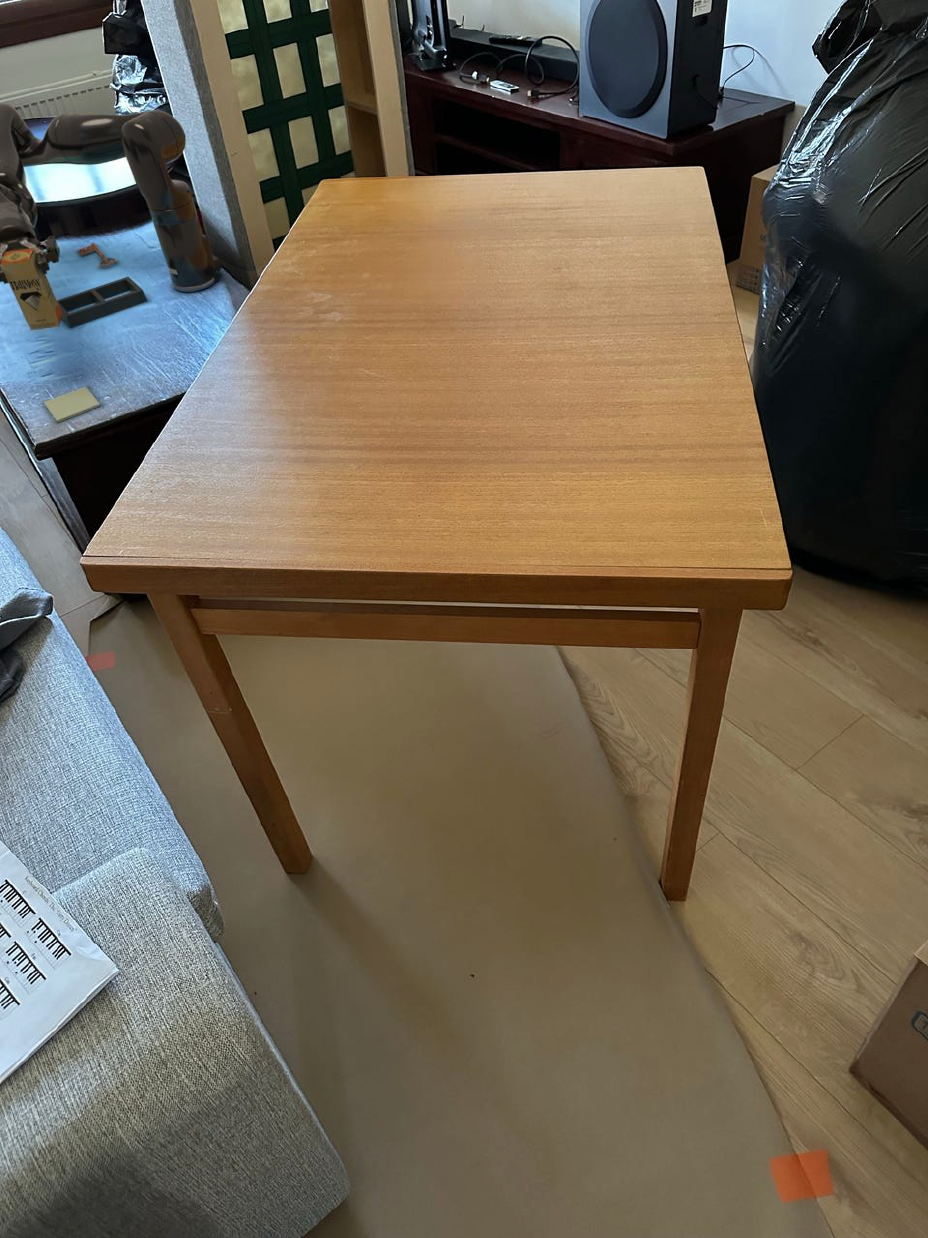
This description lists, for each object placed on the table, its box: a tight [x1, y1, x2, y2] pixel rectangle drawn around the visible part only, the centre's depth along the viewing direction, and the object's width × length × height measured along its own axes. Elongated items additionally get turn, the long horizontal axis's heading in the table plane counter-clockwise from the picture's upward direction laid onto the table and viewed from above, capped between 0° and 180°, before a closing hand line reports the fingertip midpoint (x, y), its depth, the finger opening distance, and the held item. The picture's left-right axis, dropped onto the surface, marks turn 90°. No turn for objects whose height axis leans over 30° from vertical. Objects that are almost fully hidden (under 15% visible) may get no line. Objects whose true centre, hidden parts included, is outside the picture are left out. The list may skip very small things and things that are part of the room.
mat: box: [43, 386, 101, 423], centre depth 154 cm, size 8×8×1 cm
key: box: [77, 242, 116, 268], centre depth 199 cm, size 6×1×15 cm
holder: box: [56, 276, 147, 329], centre depth 180 cm, size 17×9×2 cm, turn 126°
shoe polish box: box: [0, 248, 62, 331], centre depth 148 cm, size 5×5×12 cm
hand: (23, 273), depth 143 cm, fingers closed on shoe polish box, 6 cm apart
